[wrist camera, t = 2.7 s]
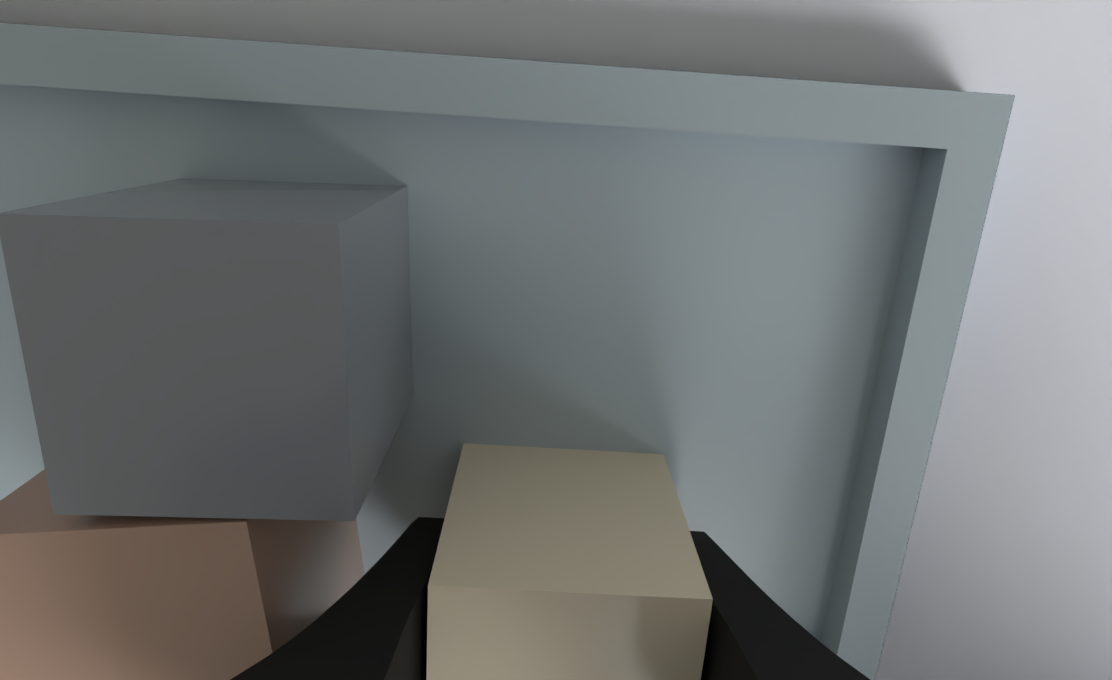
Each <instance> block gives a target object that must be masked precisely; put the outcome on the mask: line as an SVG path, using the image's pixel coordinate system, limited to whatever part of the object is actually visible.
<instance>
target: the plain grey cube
mask: <svg viewBox="0 0 1112 680" xmlns="http://www.w3.org/2000/svg"><path fill="white" fill-rule="evenodd" d="M0 240H1V245H2V250H3V255H4V260H5V266H6V271H7V276H8V281H9V286H10V292H11V297H12V302H13V307H14V312H15V317H16V323H17V328H18V333H19V338H20V343H21V348H22V354H23V359H24V364H25V369H26V374H27V380H28V385H29V390H30V395H31V400H32V405H33V411H34V416H35V421H36V426H37V431H38V436H39V442H40V447H41V452H42V457H43V462H44V467H45V473H46V478H47V483H48V488H49V493H50V499H51V504H52V509H53V514H57V515H102V516H147V517H192V518H237V519H281V520H326V521H355V519H356V517H357V515H358V513H359V511H360V509H361V507H362V504H363V502H364V500H365V498H366V496H367V494H368V492H369V489H370V487H371V485H372V483H373V481H374V479H375V476H376V474H377V472H378V470H379V468H380V466H381V464H382V461H383V459H384V457H385V455H386V453H387V451H388V449H389V446H390V444H391V442H392V440H393V438H394V436H395V433H396V431H397V429H398V427H399V425H400V423H401V421H402V418H403V416H404V414H405V412H406V410H407V408H408V406H409V403H410V401H411V399H412V397H413V368H412V330H411V292H410V254H409V217H408V186H396V185H365V184H334V183H303V182H273V181H242V180H211V179H175V180H170V181H164V182H159V183H154V184H149V185H143V186H138V187H133V188H127V189H122V190H117V191H111V192H106V193H101V194H95V195H90V196H85V197H79V198H74V199H69V200H63V201H58V202H53V203H47V204H42V205H37V206H32V207H26V208H21V209H16V210H10V211H5V212H0Z"/></svg>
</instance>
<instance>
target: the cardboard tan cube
mask: <svg viewBox="0 0 1112 680" xmlns="http://www.w3.org/2000/svg"><path fill="white" fill-rule="evenodd" d="M363 575H364V567H363V560H362V553H361V546H360V540H359V533H358V526H357V519H355V521H326V520H281V519H237V518H192V517H147V516H102V515H57V514H53V509H52V504H51V499H50V493H49V488H48V483H47V478H46V473H45V469H44V470H43V471H41V472H40V473H38V474H37V475H36V476H34V477H33V478H31V479H30V480H29V481H27V482H26V483H24V484H23V485H22V486H20V487H19V488H17V489H16V490H15V491H13V492H12V493H10V494H9V495H8V496H6V497H5V498H3V499H2V500H1V501H0V680H230V679H232V678H233V677H235V676H237V675H238V674H240V673H241V672H243V671H245V670H246V669H248V668H250V667H251V666H253V665H254V664H256V663H258V662H259V661H261V660H262V659H264V658H266V657H267V656H269V655H270V654H271V653H273V652H274V651H276V650H277V649H279V648H280V647H281V646H283V645H284V644H285V643H287V642H288V641H290V640H291V639H292V638H294V637H295V636H296V635H297V634H299V633H300V632H301V631H302V630H304V629H305V628H306V627H307V626H309V625H310V624H311V623H312V622H314V621H315V620H316V619H317V618H318V617H319V616H321V615H322V614H323V613H324V612H325V611H326V610H327V609H328V608H329V607H331V606H332V605H333V604H334V603H335V602H336V601H337V600H338V599H339V598H341V597H342V596H343V595H344V594H345V593H346V592H347V591H348V590H349V589H350V588H352V587H353V586H354V585H355V584H356V583H357V582H358V581H359V580H360V579H361V578H362V577H363Z"/></svg>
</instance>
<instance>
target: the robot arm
mask: <svg viewBox="0 0 1112 680" xmlns="http://www.w3.org/2000/svg"><path fill="white" fill-rule="evenodd" d="M444 519H445V518H431V517H418V518H417V519H416V520H414V521H413V522H412V523H411V524H410V525H409V526H408V528H407V529H406V530H405V531H404V532H403V533H402V535H401V536H400V537H399V538H398V539H397V540H396V542H395V543H394V544H393V545H392V546H391V547H390V548H389V549H388V550H387V552H386V553H385V554H384V555H383V556H382V557H381V558H380V559H379V560H378V561H377V562H376V563H375V564H374V565H373V566H372V567H371V568H370V569H369V570H368V571H367V572H366V573H365V575H364V576H363V577H362V578H361V579H360V580H359V581H358V582H357V583H356V584H355V585H354V586H353V587H352V588H350V589H349V590H348V591H347V592H346V593H345V594H344V595H343V596H342V597H341V598H339V599H338V600H337V601H336V602H335V603H334V604H333V605H332V606H331V607H329V608H328V609H327V610H326V611H325V612H324V613H323V614H322V615H321V616H319V617H318V618H317V619H316V620H315V621H314V622H312V623H311V624H310V625H309V626H307V627H306V628H305V629H304V630H302V631H301V632H300V633H299V634H297V635H296V636H295V637H294V638H292V639H291V640H290V641H288V642H287V643H285V644H284V645H283V646H281V647H280V648H279V649H277V650H276V651H274V652H273V653H271V654H270V655H269V656H267V657H266V658H264V659H262V660H261V661H259V662H258V663H256V664H254V665H253V666H251V667H250V668H248V669H246V670H245V671H243V672H241V673H240V674H238V675H237V676H235V677H233V678H232V679H230V680H426V672H427V612H428V583H429V579H430V575H431V571H432V567H433V563H434V559H435V555H436V551H437V547H438V543H439V539H440V535H441V531H442V527H443V523H444ZM690 533H691V536H692V539H693V542H694V545H695V548H696V551H697V554H698V557H699V560H700V563H701V566H702V569H703V572H704V575H705V578H706V580H707V583H708V586H709V589H710V592H711V595H712V598H713V602H712V609H711V615H710V622H709V628H708V635H707V642H706V648H705V655H704V661H703V668H702V674H701V680H870V679H869V678H867V677H866V676H865V675H863V674H862V673H861V672H859V671H858V670H856V669H855V668H854V667H852V666H851V665H850V664H848V663H847V662H845V661H844V660H843V659H841V658H840V657H839V656H837V655H836V654H835V653H834V652H832V651H831V650H830V649H828V648H827V647H826V646H825V645H823V644H822V643H821V642H820V641H819V640H817V639H816V638H815V637H814V636H813V635H812V634H810V633H809V632H808V631H807V630H806V629H804V628H803V627H802V626H801V625H800V624H799V623H797V622H796V621H795V620H794V619H793V618H792V617H791V616H789V615H788V614H787V613H786V612H785V611H784V610H783V609H782V608H781V607H780V606H778V605H777V604H776V603H775V602H774V601H773V600H772V599H771V598H770V597H769V596H768V595H767V594H766V593H765V592H764V591H763V590H762V589H761V588H760V587H759V586H758V585H757V584H756V583H755V582H754V581H753V580H752V579H751V578H750V577H749V576H748V575H747V574H746V573H745V572H744V571H743V570H742V569H741V568H740V567H739V566H738V565H737V564H736V563H735V562H734V561H733V560H732V559H731V558H730V557H729V556H728V555H727V554H726V553H725V552H724V551H723V550H722V549H721V548H720V547H719V546H718V545H717V544H716V543H715V542H714V541H713V540H712V539H711V538H710V537H709V536H708V535H707V534H706V533H705V532H703V531H690Z"/></svg>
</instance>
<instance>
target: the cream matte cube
mask: <svg viewBox="0 0 1112 680" xmlns="http://www.w3.org/2000/svg"><path fill="white" fill-rule="evenodd" d="M712 602H713V598H712V595H711V592H710V589H709V586H708V583H707V580H706V578H705V575H704V572H703V569H702V566H701V563H700V560H699V557H698V554H697V551H696V548H695V545H694V542H693V539H692V536H691V533H690V531H689V528H688V525H687V522H686V519H685V516H684V513H683V510H682V507H681V504H680V501H679V498H678V495H677V492H676V489H675V487H674V484H673V481H672V478H671V475H670V472H669V469H668V466H667V463H666V460H665V457H664V454H651V453H632V452H614V451H596V450H577V449H559V448H541V447H522V446H504V445H486V444H468V443H463V446H462V450H461V454H460V459H459V463H458V467H457V471H456V475H455V479H454V483H453V487H452V491H451V495H450V499H449V503H448V507H447V511H446V515H445V519H444V523H443V527H442V531H441V535H440V539H439V543H438V547H437V551H436V555H435V559H434V563H433V567H432V571H431V575H430V579H429V583H428V612H427V672H426V680H701V674H702V668H703V661H704V655H705V648H706V642H707V635H708V628H709V622H710V615H711V609H712Z"/></svg>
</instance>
